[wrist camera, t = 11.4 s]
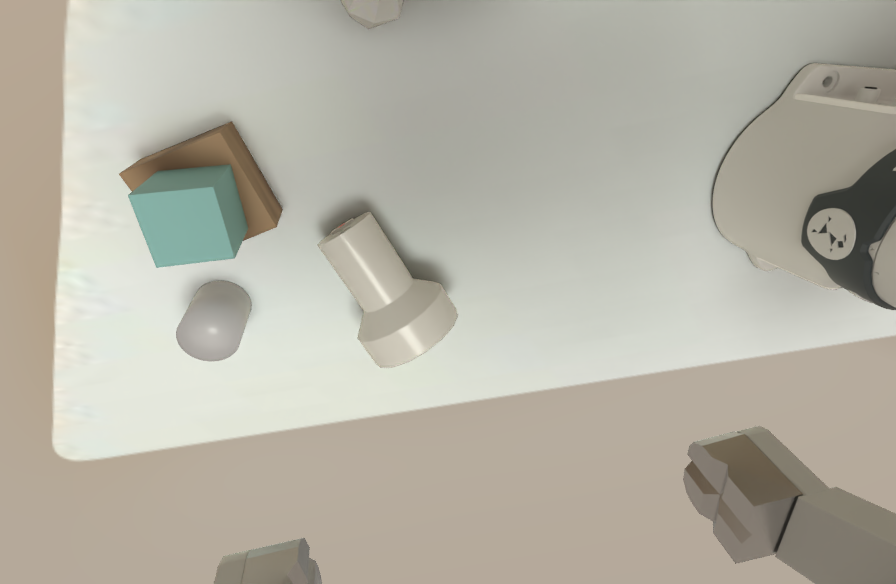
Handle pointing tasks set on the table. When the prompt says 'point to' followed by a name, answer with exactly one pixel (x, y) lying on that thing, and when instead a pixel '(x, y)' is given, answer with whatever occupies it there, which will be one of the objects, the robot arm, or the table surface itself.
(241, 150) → the brown square block
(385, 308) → the spotlight
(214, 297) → the grey cylinder
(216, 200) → the teal cube
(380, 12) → the toy
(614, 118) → the table surface
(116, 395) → the table surface
